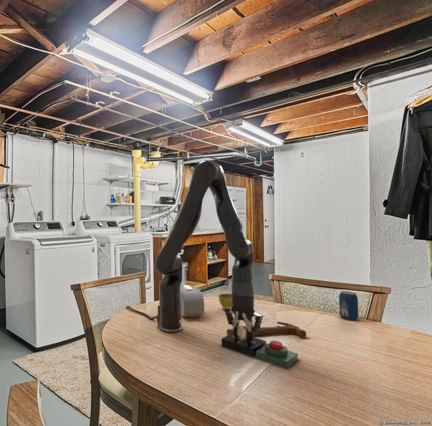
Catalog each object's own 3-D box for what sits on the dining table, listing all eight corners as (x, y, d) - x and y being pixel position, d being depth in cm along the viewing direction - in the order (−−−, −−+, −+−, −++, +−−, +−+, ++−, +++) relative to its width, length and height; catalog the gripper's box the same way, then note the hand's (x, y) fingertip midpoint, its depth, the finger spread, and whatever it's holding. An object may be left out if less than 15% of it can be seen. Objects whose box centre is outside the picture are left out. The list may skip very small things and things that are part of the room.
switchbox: (255, 357, 104) (255, 346, 104) (267, 350, 110) (267, 339, 110) (287, 368, 96) (286, 356, 96) (297, 359, 102) (297, 347, 102)
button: (268, 347, 103) (268, 342, 103) (273, 344, 106) (272, 339, 106) (279, 351, 101) (279, 345, 101) (284, 348, 103) (283, 342, 103)
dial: (234, 339, 112) (234, 326, 112) (240, 336, 115) (240, 323, 115) (246, 343, 109) (246, 329, 109) (252, 339, 112) (252, 326, 112)
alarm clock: (204, 320, 142) (204, 291, 142) (184, 320, 142) (183, 292, 142) (193, 307, 163) (193, 282, 163) (175, 307, 163) (175, 282, 163)
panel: (221, 346, 114) (221, 338, 114) (235, 339, 120) (235, 331, 120) (253, 357, 104) (253, 348, 104) (266, 349, 111) (266, 340, 111)
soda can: (357, 317, 142) (356, 291, 142) (359, 322, 136) (358, 295, 136) (338, 315, 146) (338, 290, 146) (340, 319, 140) (339, 293, 140)
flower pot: (214, 307, 161) (214, 294, 161) (231, 306, 164) (231, 292, 164) (226, 313, 151) (225, 299, 151) (243, 311, 154) (243, 297, 154)
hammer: (234, 341, 117) (306, 337, 120) (233, 333, 118) (306, 329, 120) (220, 330, 129) (287, 327, 132) (220, 323, 129) (286, 320, 132)
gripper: (219, 291, 115) (220, 336, 115) (257, 298, 104) (258, 348, 104) (229, 287, 120) (230, 331, 120) (266, 294, 109) (268, 342, 109)
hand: (243, 338), depth 112 cm, fingers closed on dial, 4 cm apart
